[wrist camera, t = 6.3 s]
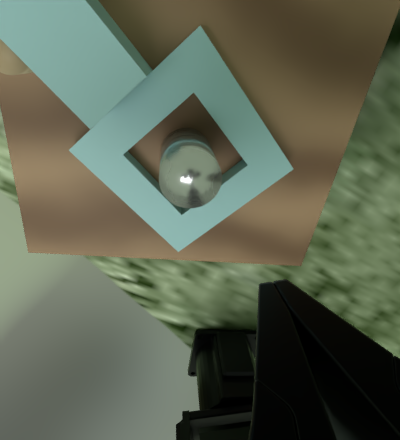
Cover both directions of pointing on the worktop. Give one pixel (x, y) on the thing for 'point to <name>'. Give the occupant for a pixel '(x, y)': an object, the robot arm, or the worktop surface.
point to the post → (188, 169)
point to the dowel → (11, 62)
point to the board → (208, 126)
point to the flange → (140, 106)
